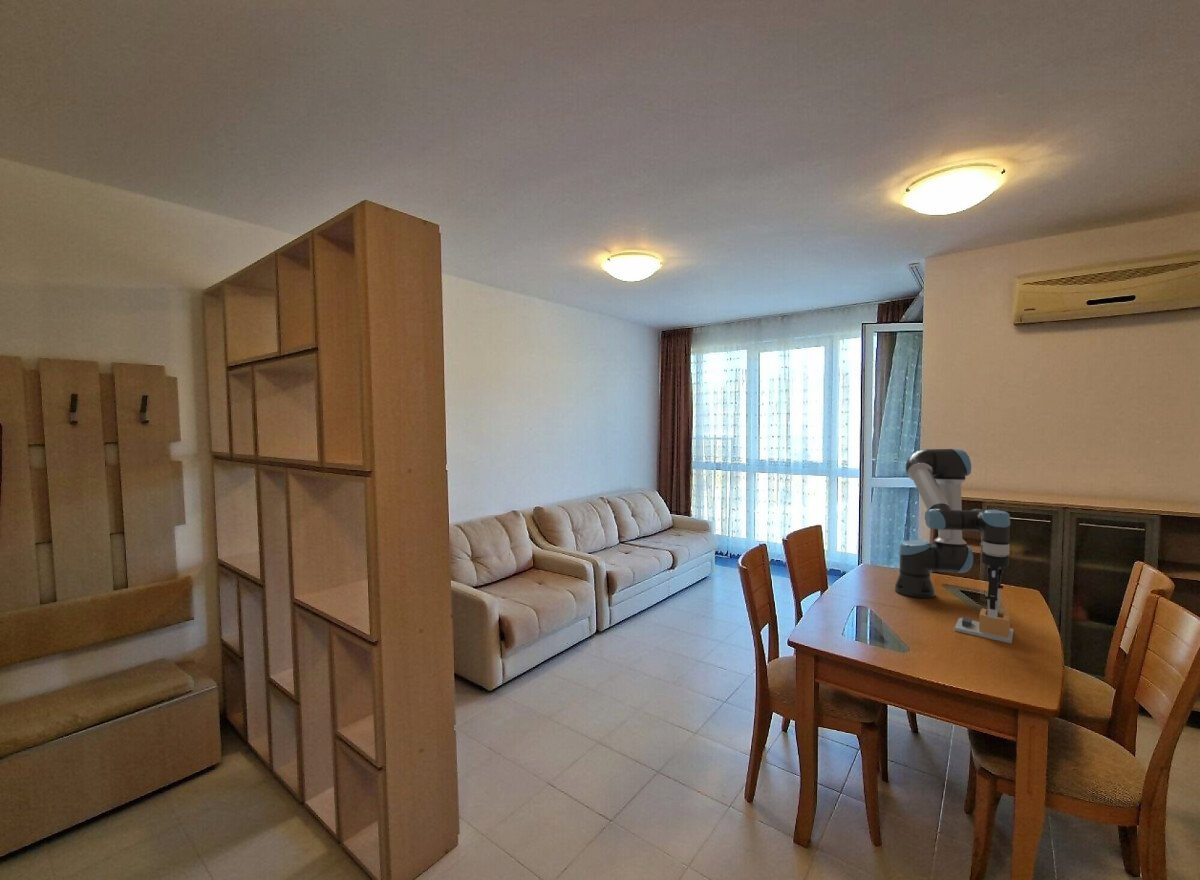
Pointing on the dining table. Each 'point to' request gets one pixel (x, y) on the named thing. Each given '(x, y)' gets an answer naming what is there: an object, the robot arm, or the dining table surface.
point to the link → (994, 623)
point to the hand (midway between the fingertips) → (994, 611)
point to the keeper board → (973, 628)
